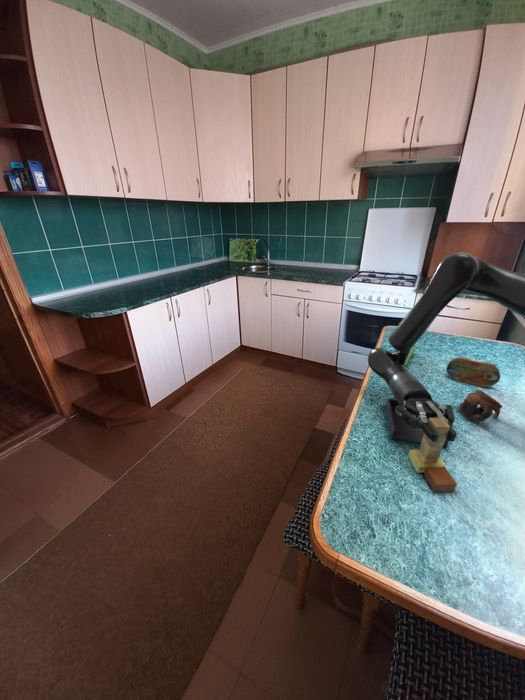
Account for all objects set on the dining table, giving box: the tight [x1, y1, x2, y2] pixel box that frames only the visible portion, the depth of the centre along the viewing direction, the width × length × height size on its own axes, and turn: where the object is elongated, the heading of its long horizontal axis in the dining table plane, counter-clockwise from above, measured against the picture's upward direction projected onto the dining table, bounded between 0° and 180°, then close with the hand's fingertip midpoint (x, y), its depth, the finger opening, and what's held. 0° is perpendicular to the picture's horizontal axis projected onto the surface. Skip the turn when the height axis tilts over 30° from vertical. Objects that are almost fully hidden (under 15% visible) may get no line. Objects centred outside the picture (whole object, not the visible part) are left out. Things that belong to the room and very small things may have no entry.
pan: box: [385, 397, 449, 449], centre depth 86 cm, size 25×13×3 cm, turn 165°
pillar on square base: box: [407, 418, 450, 474], centre depth 66 cm, size 6×5×13 cm
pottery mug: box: [456, 389, 503, 422], centre depth 84 cm, size 12×10×8 cm
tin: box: [446, 356, 501, 388], centre depth 100 cm, size 15×3×8 cm, turn 55°
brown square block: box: [423, 467, 458, 493], centre depth 65 cm, size 4×4×2 cm
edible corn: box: [404, 345, 416, 367], centre depth 115 cm, size 5×20×5 cm, turn 144°
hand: (444, 438), depth 62 cm, fingers closed on pillar on square base, 3 cm apart
